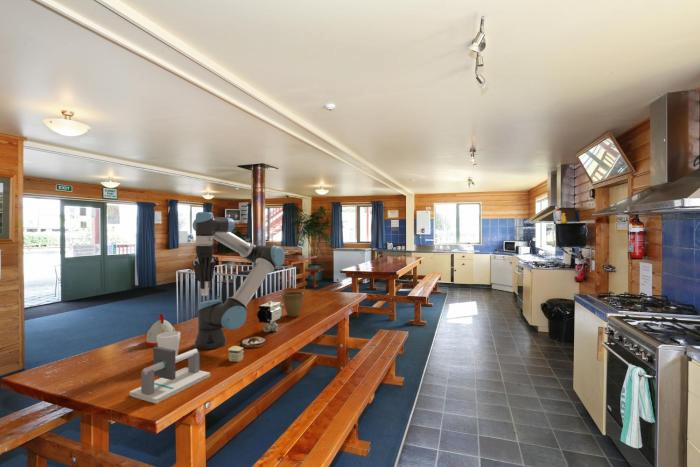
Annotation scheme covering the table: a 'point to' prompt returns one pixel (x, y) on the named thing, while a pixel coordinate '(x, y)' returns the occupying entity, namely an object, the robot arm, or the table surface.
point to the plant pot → (293, 302)
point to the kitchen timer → (158, 330)
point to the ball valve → (270, 315)
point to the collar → (169, 357)
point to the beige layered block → (235, 353)
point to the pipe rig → (166, 387)
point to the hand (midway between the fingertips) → (204, 295)
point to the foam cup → (169, 340)
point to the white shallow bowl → (253, 342)
